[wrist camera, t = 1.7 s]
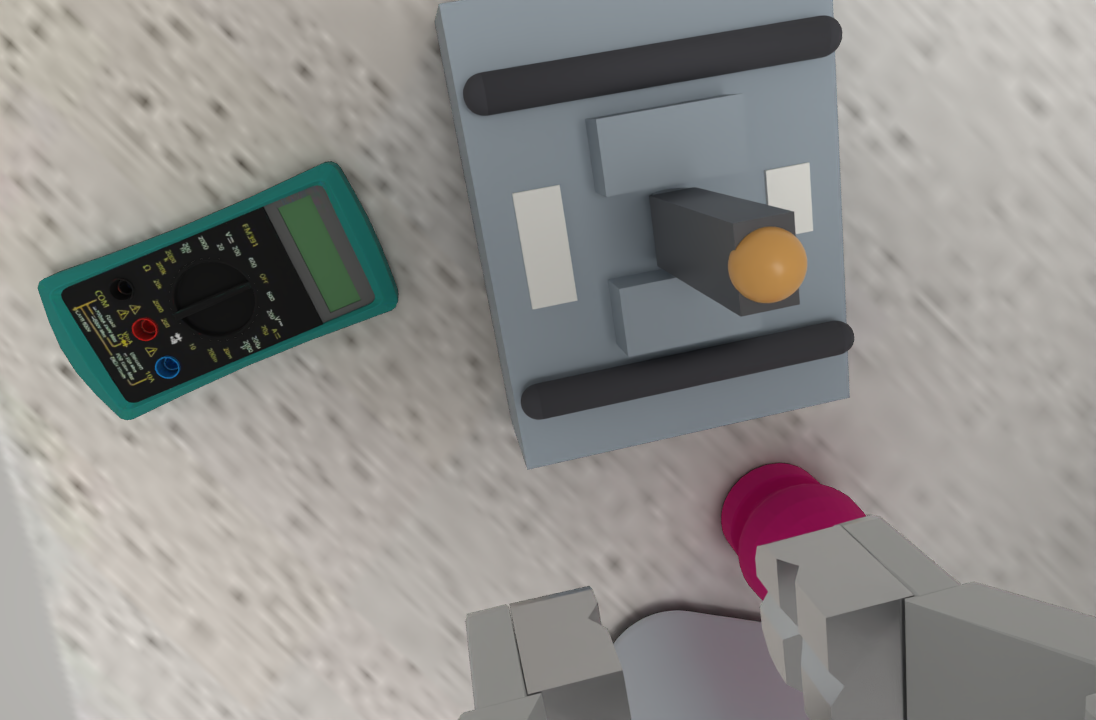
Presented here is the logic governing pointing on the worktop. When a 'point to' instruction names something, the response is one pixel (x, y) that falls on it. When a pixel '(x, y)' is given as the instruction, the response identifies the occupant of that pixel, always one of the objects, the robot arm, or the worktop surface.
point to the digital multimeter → (220, 292)
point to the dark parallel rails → (639, 72)
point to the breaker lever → (729, 248)
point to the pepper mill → (779, 512)
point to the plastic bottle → (703, 670)
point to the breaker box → (639, 210)
